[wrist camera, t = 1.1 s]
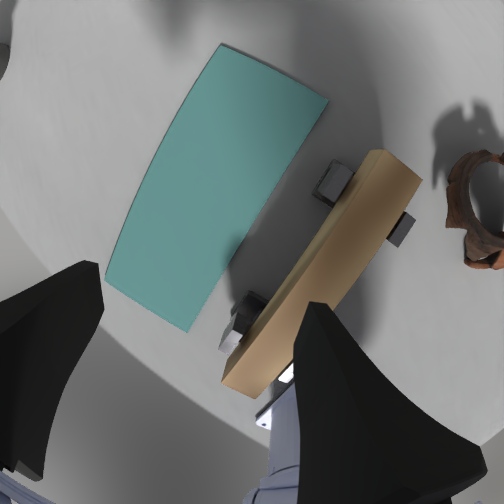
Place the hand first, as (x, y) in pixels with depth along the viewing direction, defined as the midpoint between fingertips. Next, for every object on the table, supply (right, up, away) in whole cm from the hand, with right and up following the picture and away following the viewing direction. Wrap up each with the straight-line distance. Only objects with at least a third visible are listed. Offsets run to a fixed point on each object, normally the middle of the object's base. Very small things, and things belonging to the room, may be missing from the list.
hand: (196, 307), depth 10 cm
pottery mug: (+22, +6, +10) cm, 25 cm away
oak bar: (+6, 0, +10) cm, 11 cm away
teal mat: (-2, +6, +12) cm, 14 cm away
